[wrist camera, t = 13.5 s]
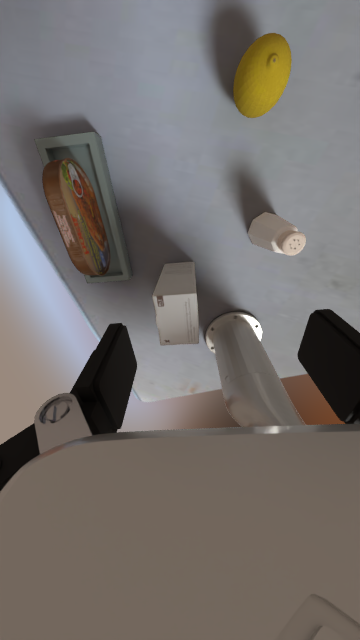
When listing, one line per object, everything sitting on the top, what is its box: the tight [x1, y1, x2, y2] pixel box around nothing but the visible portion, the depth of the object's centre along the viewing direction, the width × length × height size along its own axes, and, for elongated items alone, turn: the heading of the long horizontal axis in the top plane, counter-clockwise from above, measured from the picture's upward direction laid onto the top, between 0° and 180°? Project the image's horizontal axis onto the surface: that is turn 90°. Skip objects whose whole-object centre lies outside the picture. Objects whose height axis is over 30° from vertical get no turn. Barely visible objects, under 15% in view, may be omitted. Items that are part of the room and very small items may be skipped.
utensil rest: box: [34, 132, 132, 283], centre depth 32 cm, size 20×8×2 cm, turn 5°
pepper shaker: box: [248, 212, 306, 255], centre depth 29 cm, size 5×5×11 cm
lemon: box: [233, 33, 291, 118], centre depth 22 cm, size 6×6×8 cm
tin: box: [42, 158, 111, 276], centre depth 29 cm, size 15×3×8 cm, turn 5°
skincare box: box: [152, 262, 199, 345], centre depth 32 cm, size 8×6×15 cm
